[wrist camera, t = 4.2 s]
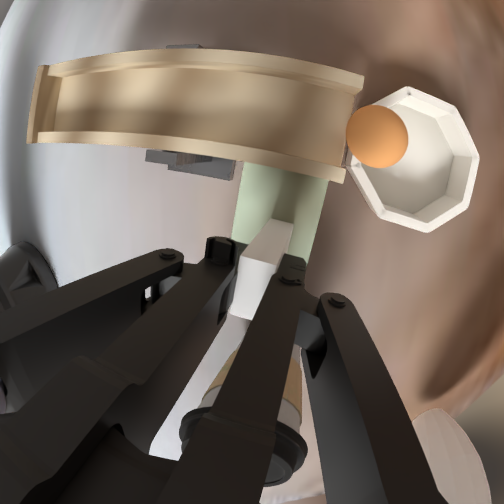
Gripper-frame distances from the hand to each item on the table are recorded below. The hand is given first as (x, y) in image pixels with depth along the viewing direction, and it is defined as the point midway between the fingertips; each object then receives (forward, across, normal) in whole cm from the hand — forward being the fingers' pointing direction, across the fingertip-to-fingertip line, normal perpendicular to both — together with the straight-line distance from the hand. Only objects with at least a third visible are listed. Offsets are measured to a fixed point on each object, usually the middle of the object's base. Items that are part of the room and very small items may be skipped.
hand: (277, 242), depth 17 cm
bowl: (+8, +8, +8) cm, 14 cm away
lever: (0, -8, +4) cm, 9 cm away
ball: (-1, +4, +8) cm, 9 cm away
